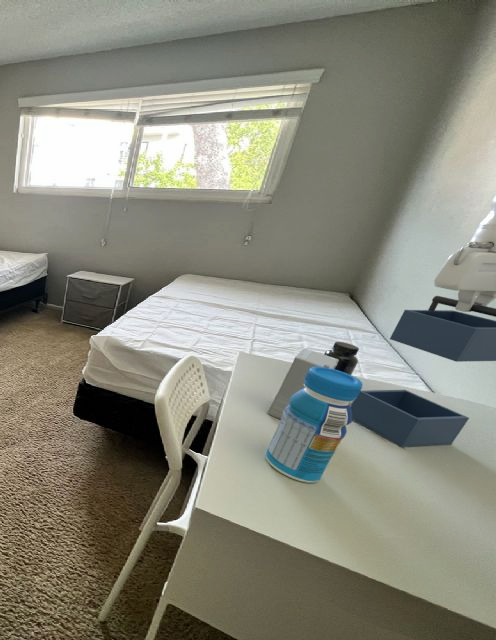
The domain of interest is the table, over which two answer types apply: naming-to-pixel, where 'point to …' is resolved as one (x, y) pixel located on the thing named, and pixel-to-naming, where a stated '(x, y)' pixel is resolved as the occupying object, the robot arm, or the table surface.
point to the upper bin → (449, 332)
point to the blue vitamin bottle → (313, 424)
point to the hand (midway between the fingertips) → (468, 311)
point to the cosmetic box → (298, 378)
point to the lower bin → (407, 418)
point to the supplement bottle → (344, 356)
